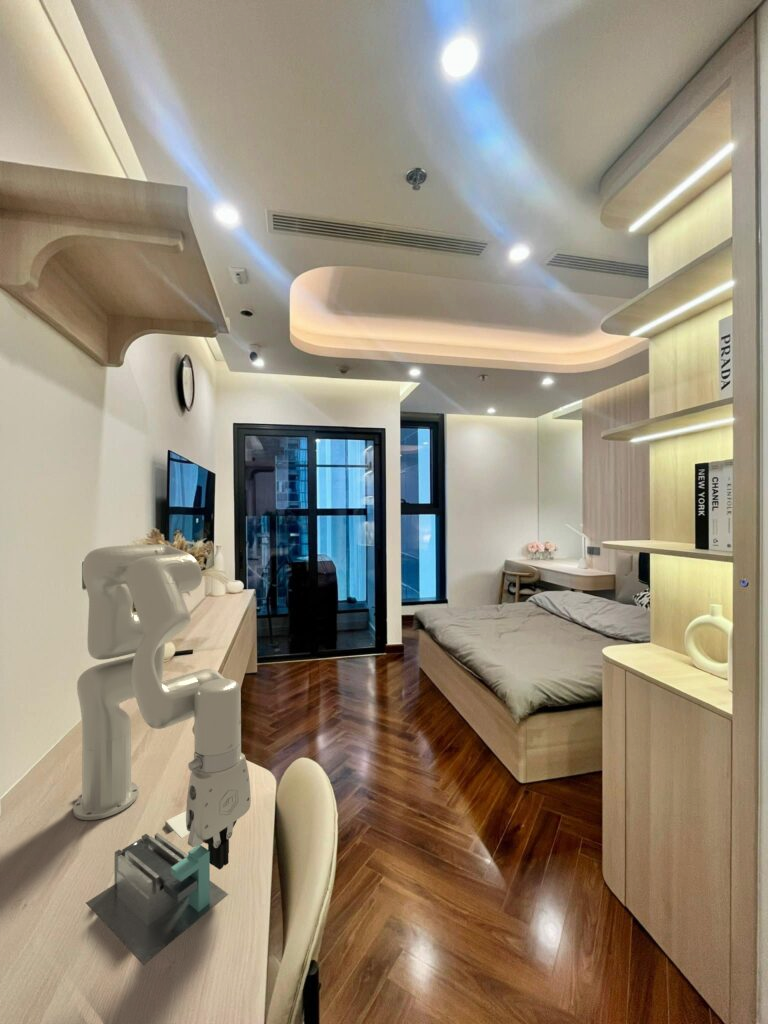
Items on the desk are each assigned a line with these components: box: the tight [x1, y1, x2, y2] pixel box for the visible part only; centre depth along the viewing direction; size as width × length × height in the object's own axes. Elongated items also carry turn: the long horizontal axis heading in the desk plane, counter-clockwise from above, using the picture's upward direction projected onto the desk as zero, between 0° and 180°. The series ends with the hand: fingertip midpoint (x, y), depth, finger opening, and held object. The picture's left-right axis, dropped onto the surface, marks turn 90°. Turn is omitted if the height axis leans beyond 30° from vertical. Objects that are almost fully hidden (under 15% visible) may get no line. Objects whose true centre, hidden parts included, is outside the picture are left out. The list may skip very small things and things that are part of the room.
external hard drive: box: [164, 810, 190, 839], centre depth 94 cm, size 2×8×12 cm
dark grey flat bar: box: [121, 838, 197, 902], centre depth 73 cm, size 18×3×1 cm, turn 56°
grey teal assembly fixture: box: [85, 832, 229, 965], centre depth 73 cm, size 18×14×7 cm
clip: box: [171, 844, 211, 912], centre depth 71 cm, size 3×5×8 cm, turn 146°
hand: (218, 863), depth 75 cm, fingers closed
